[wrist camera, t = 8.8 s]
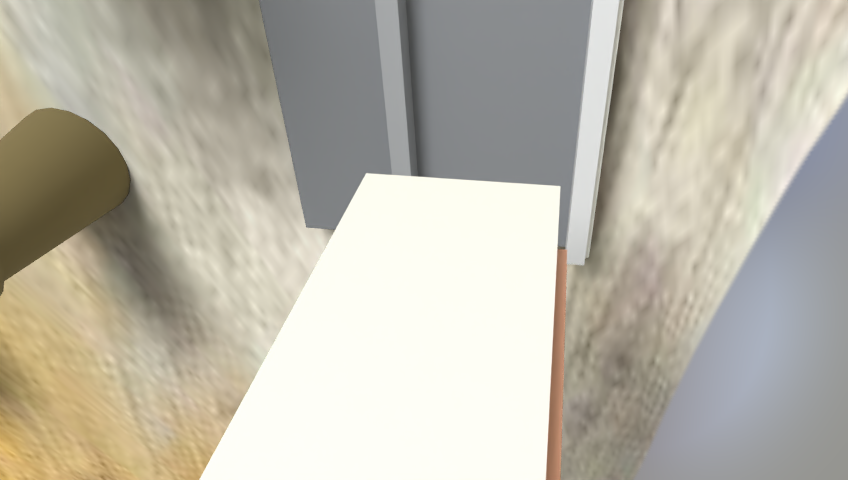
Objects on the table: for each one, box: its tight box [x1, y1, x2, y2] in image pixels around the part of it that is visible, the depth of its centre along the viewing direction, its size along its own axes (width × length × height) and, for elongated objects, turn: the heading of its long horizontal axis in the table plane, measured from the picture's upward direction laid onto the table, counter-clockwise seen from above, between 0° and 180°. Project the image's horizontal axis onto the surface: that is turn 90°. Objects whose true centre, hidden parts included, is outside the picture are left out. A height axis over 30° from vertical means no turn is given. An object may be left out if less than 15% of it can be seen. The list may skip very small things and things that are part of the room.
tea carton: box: [200, 173, 567, 480], centre depth 11 cm, size 4×7×9 cm, turn 3°
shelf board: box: [259, 0, 624, 265], centre depth 24 cm, size 14×13×3 cm
